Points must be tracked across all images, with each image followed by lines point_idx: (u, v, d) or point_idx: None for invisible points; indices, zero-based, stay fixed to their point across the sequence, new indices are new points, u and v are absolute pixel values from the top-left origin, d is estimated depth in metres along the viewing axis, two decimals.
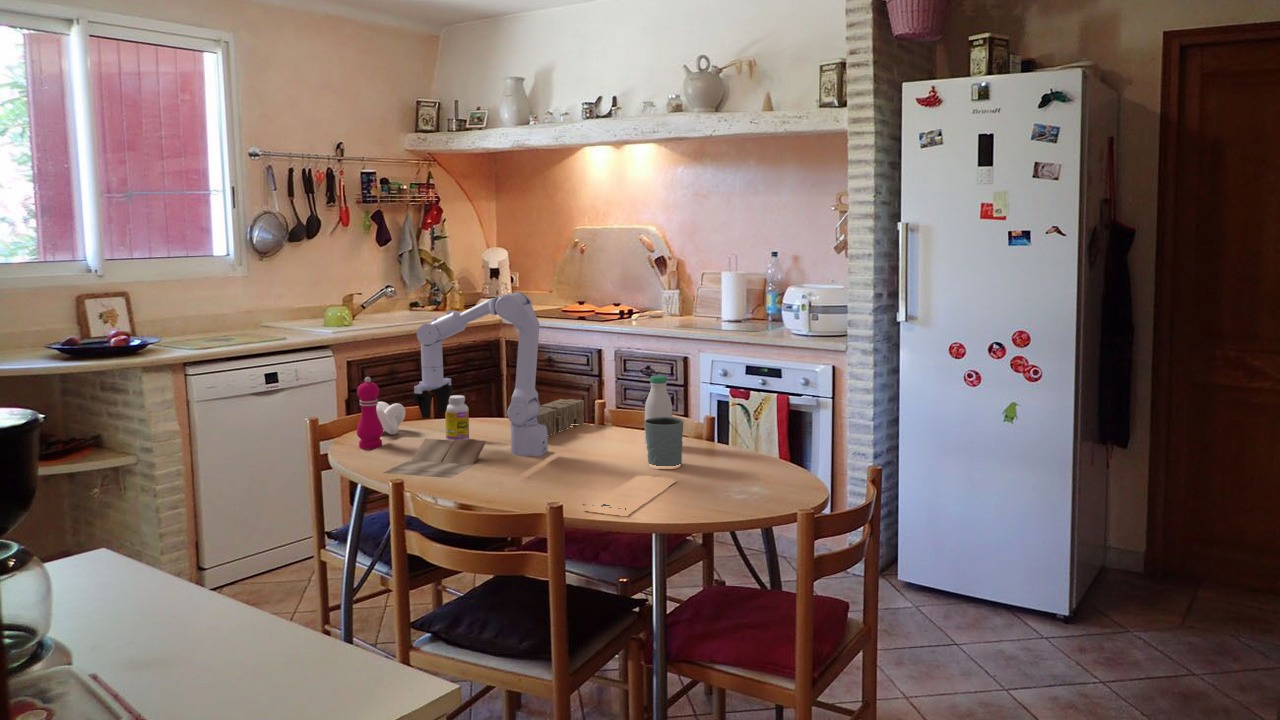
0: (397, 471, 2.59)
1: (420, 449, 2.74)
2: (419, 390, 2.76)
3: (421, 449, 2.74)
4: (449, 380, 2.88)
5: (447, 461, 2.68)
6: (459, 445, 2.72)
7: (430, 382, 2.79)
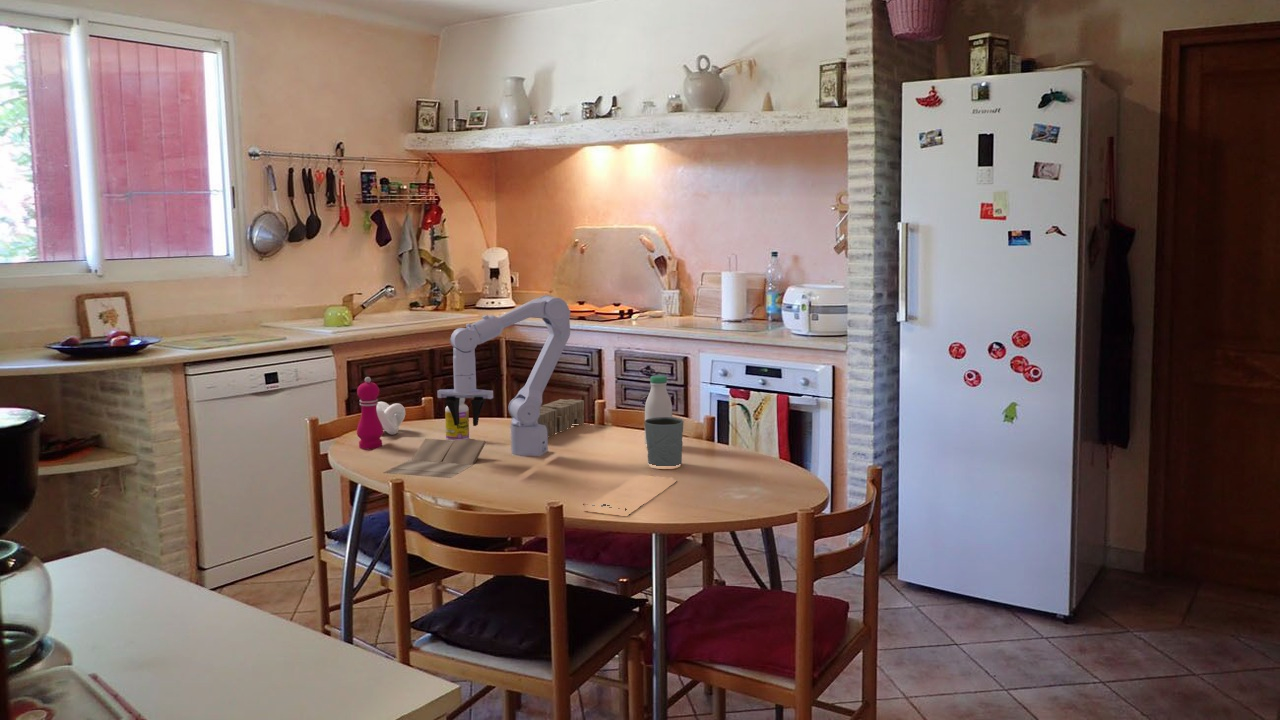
0: (397, 471, 2.59)
1: (420, 449, 2.74)
2: None
3: (421, 449, 2.74)
4: (487, 393, 2.68)
5: (447, 461, 2.68)
6: (459, 445, 2.72)
7: (454, 389, 2.69)
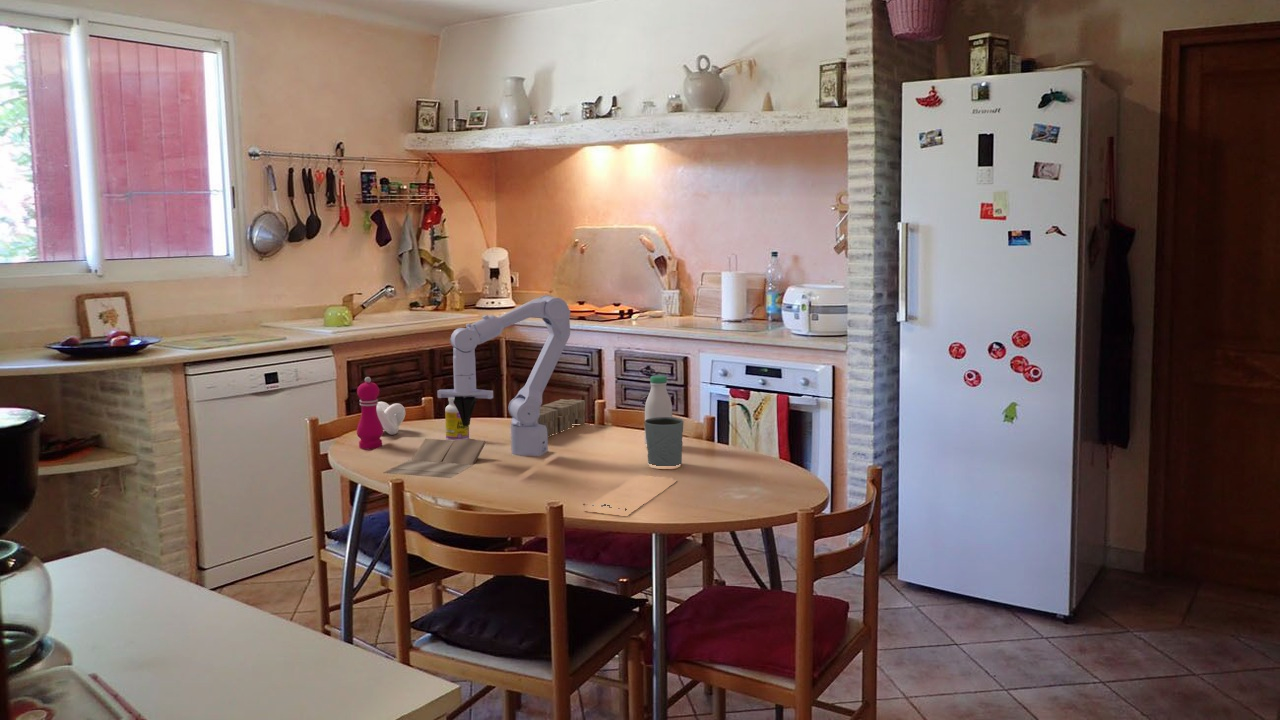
0: (397, 471, 2.59)
1: (420, 449, 2.74)
2: None
3: (421, 449, 2.74)
4: (487, 393, 2.68)
5: (447, 461, 2.68)
6: (459, 445, 2.72)
7: (454, 389, 2.69)
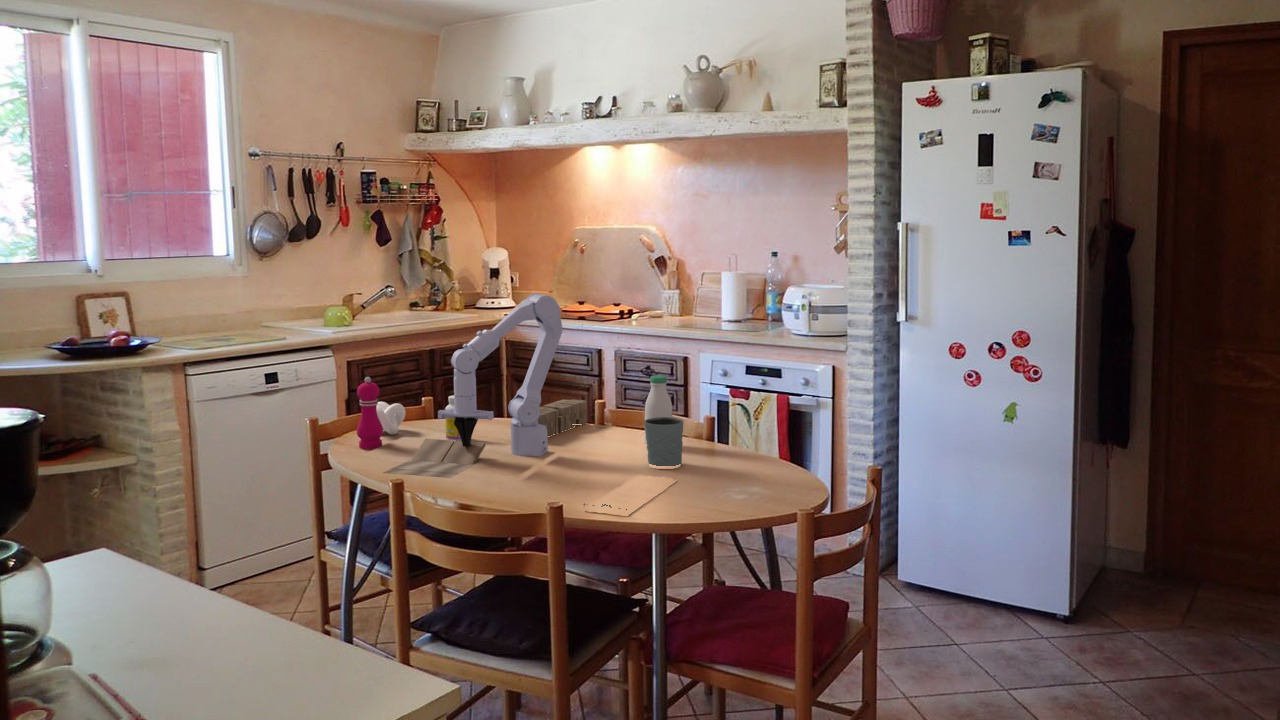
0: (397, 471, 2.59)
1: (420, 449, 2.74)
2: None
3: (421, 449, 2.74)
4: (487, 414, 2.69)
5: (447, 461, 2.68)
6: (459, 446, 2.72)
7: (454, 410, 2.70)
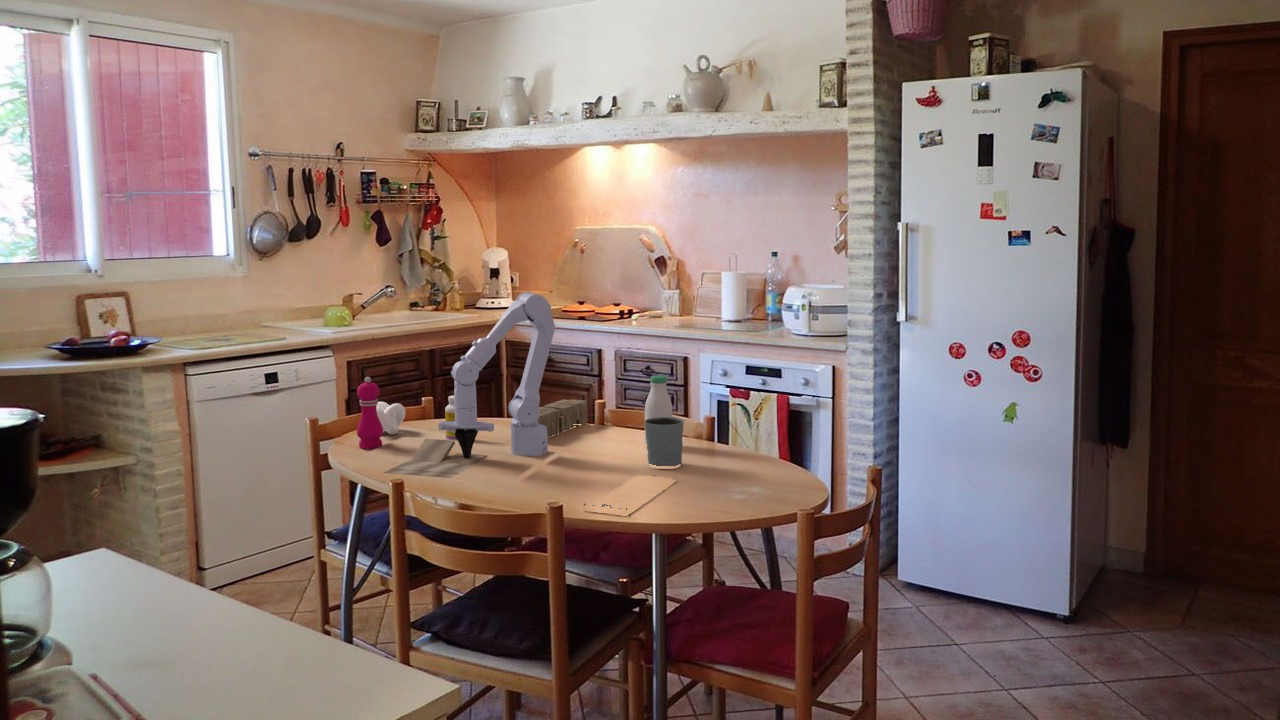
0: (397, 471, 2.59)
1: (420, 449, 2.74)
2: None
3: (421, 449, 2.74)
4: (488, 426, 2.69)
5: (447, 462, 2.68)
6: (460, 456, 2.74)
7: (455, 421, 2.70)
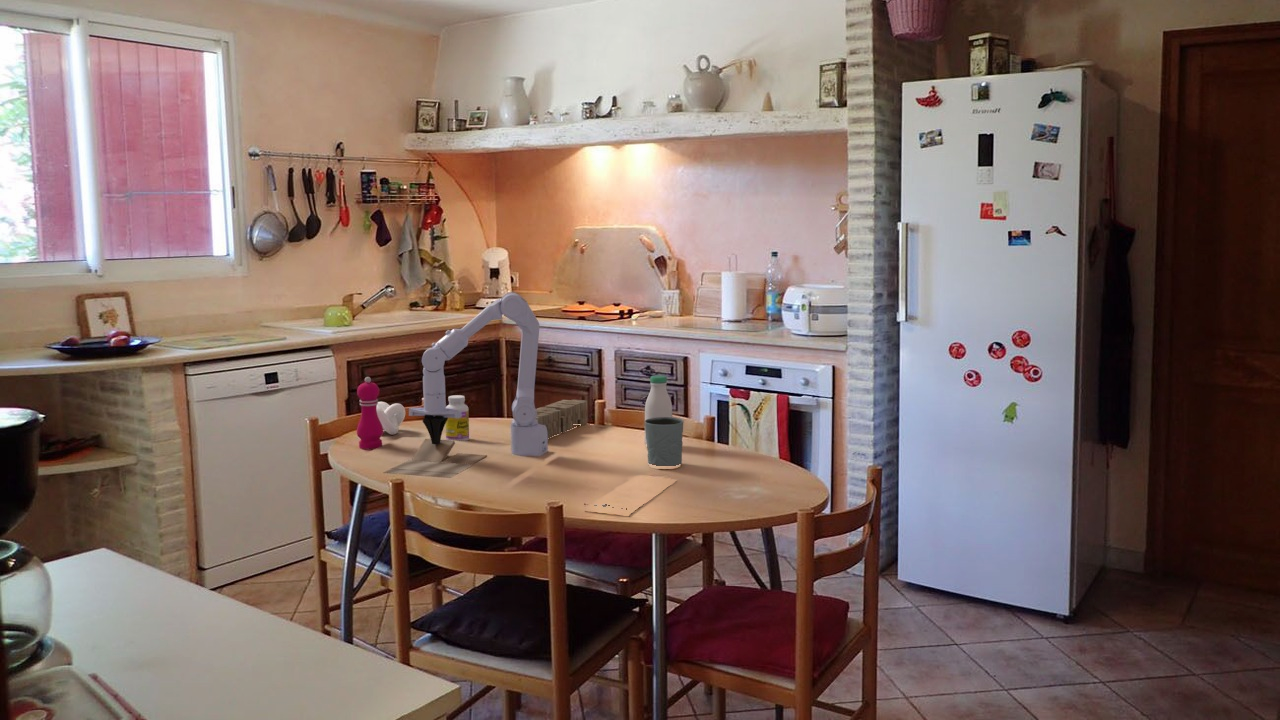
0: (397, 471, 2.59)
1: (420, 449, 2.74)
2: None
3: (421, 449, 2.74)
4: (454, 413, 2.70)
5: (447, 462, 2.68)
6: (460, 456, 2.74)
7: None
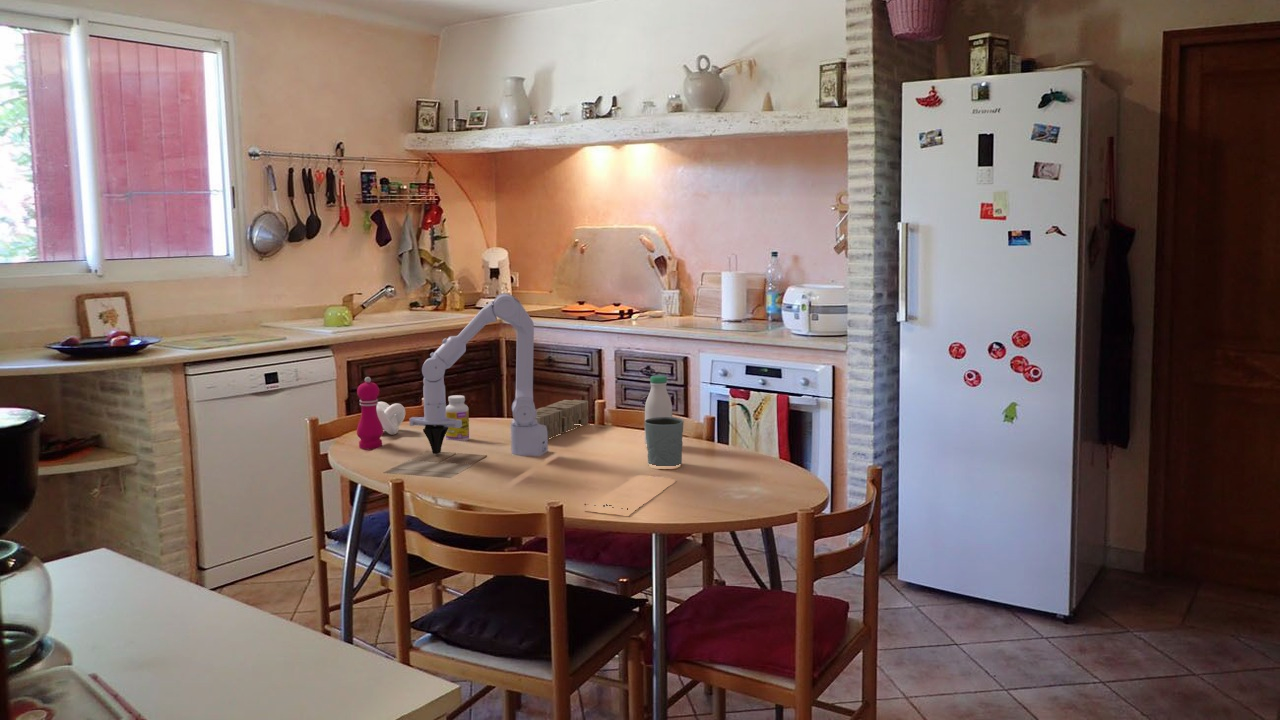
0: (397, 471, 2.59)
1: (421, 455, 2.75)
2: None
3: (422, 455, 2.75)
4: (455, 422, 2.71)
5: (447, 462, 2.68)
6: (460, 456, 2.74)
7: (424, 417, 2.73)
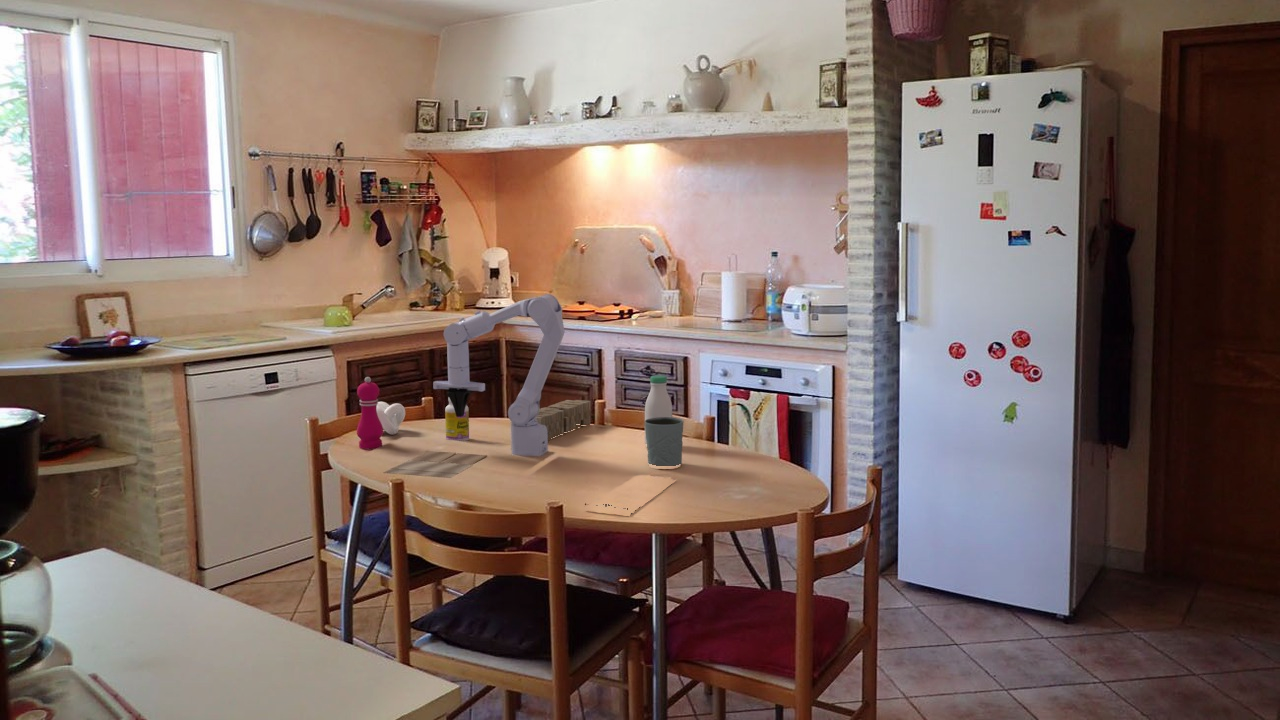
0: (397, 471, 2.59)
1: (421, 455, 2.75)
2: None
3: (422, 455, 2.75)
4: (478, 386, 2.76)
5: (447, 462, 2.68)
6: (460, 456, 2.74)
7: (448, 381, 2.79)
